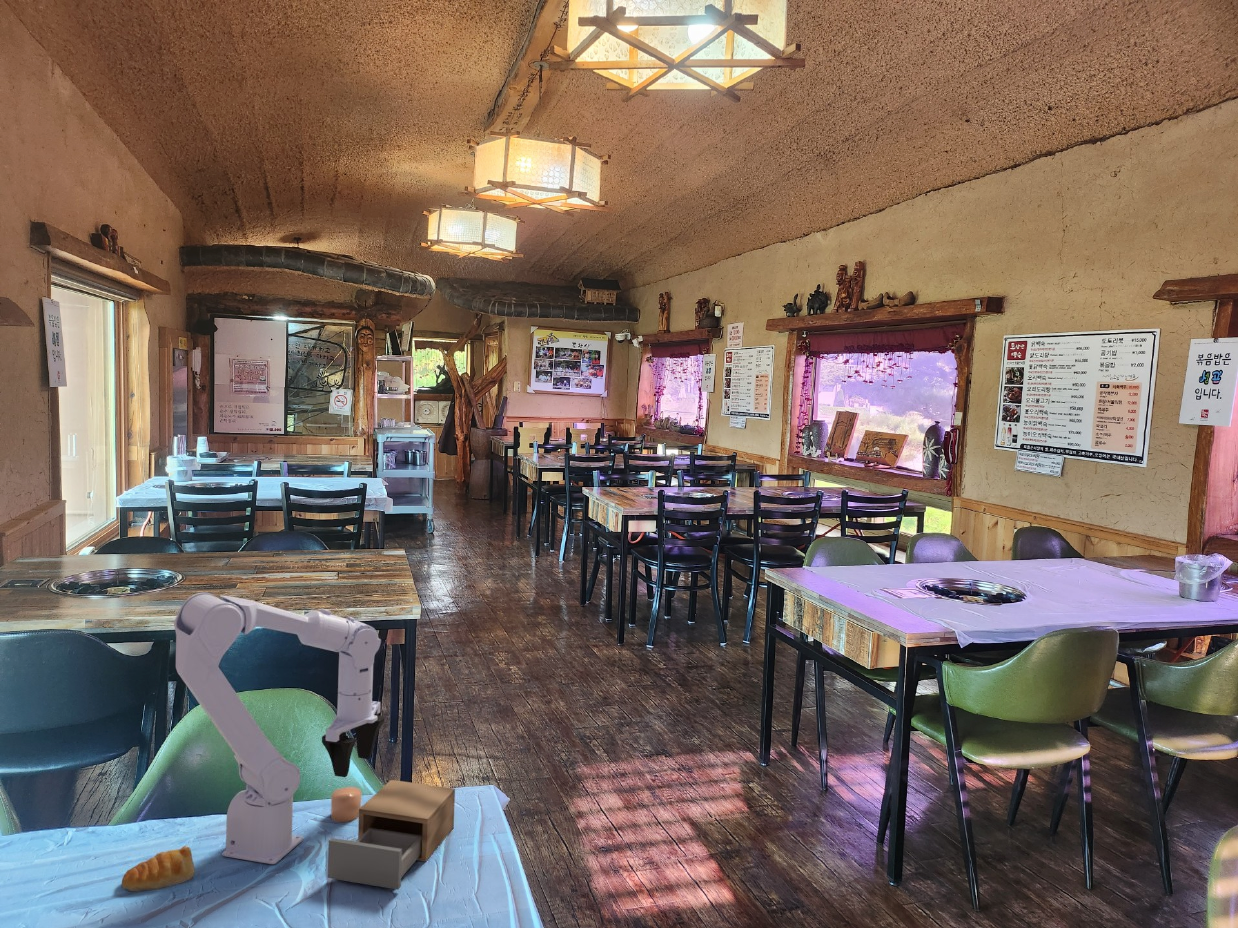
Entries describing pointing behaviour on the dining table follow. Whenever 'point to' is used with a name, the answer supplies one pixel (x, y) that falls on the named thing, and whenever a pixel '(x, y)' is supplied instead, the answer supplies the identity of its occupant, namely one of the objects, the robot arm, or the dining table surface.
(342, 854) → the grey drawer
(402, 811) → the housing
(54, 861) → the dining table surface
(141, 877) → the pastry
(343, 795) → the tan rounded cylinder
